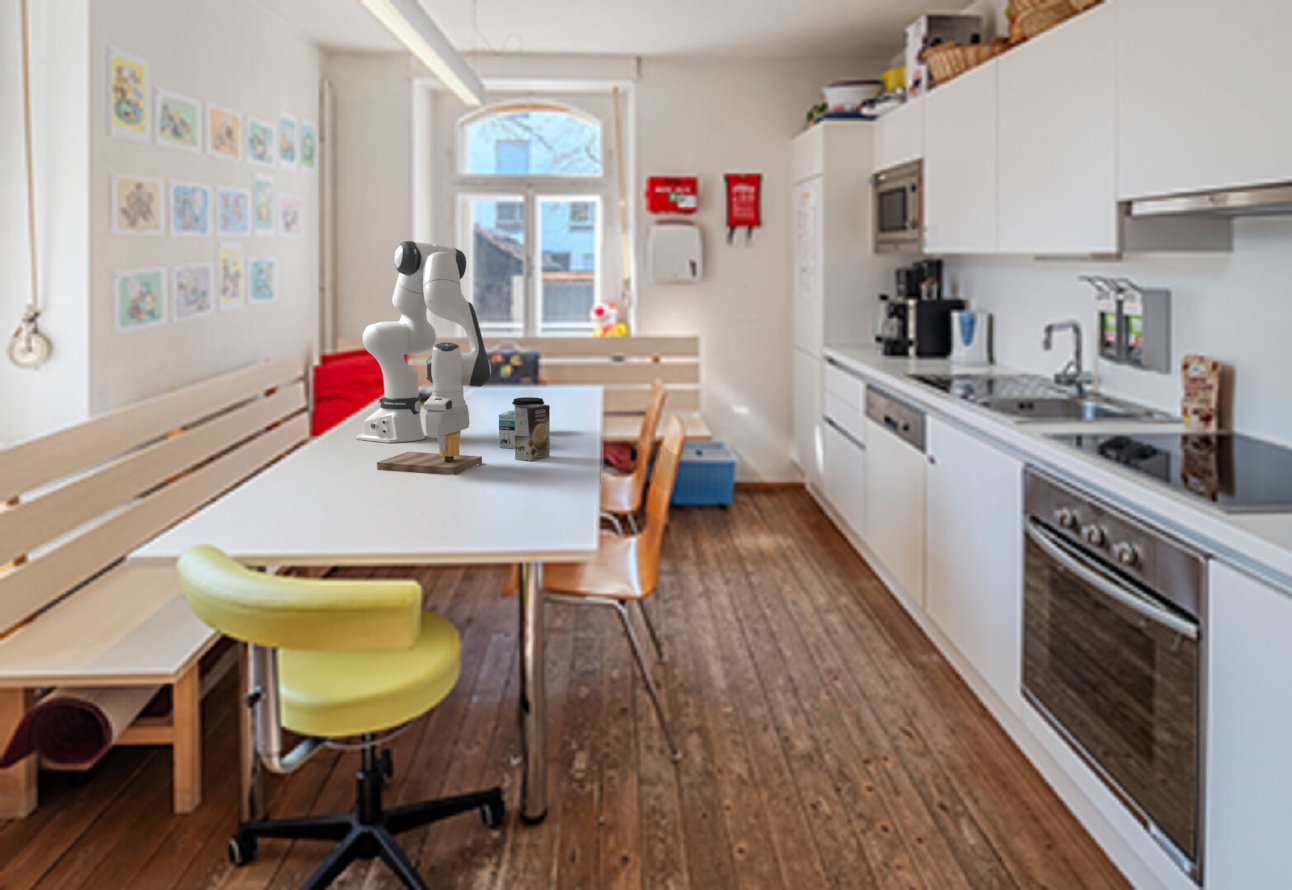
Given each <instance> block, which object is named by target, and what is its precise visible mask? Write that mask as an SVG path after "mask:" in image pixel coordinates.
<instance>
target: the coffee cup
mask: <svg viewBox="0 0 1292 890" xmlns="http://www.w3.org/2000/svg"><path fill="white" fill-rule="evenodd" d="M511 404H512V405H513V406H514V407H515V406H522V405H530V404H542V405H545V401H544V399H543V398H541V397H532V396H531V397H530V396H529V397H517V398H514V399H513V401H512V403H511Z"/></svg>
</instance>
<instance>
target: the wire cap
mask: <svg viewBox="0 0 1292 890" xmlns="http://www.w3.org/2000/svg"><path fill="white" fill-rule="evenodd" d="M445 442H446V444H447V450H446V451H440V450H438V451H439V453H438V454H439V455H440V456H458V455H461V454H460V438H459V433H451V434H448V435H446V439H445Z"/></svg>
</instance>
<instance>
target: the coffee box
mask: <svg viewBox="0 0 1292 890" xmlns="http://www.w3.org/2000/svg"><path fill="white" fill-rule="evenodd" d="M550 408H551V407H550V405H549V404H543V405H542V404H530V405H522V406H514V411H515V449H514V459H515V460H518V459H522V460H521V461H525V460H528V461H527V462H533V461H532V460H534V461H537V460H536V459H539V460H542V459H543V458H544V459H547V457H548V458H550V455H551V454H550V453H551V451H550V450H551V448H550V444H551V443H550V440H551V439H550V437H551V435H550V433H551V432H550V430H551V429H550V428H551V427H550V419H551V418H550V415H551V414H550V413H551V412H550V411H551V410H550Z"/></svg>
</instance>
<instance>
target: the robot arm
mask: <svg viewBox="0 0 1292 890" xmlns="http://www.w3.org/2000/svg"><path fill="white" fill-rule="evenodd" d="M394 267H395V269H396V270H397V272H398V277H397V280H396V283H395V286H394V291H393V295H392V299H391V300H392V301H391V303H392V305H393V307H394V309H395V310H396V312H398V313H400V314H401V316H400V318H399V320H395V321H394V320H393V321H379V322H375V323H373V324H369V325H367V326H366V327H365V329H364V331H363V333H362V344H363V346H364V349H365V350H366V351H367V352H368V353H369V354H371V355H372V357H374V358H375V360H376V361H377V362H378V364H379V366H380V369H381V372H382V378H383V390H384V393H383V394H384V396H383V397H381V398H380V399H377V404H380V406H379V408H378V409H376V410H375V411H374V412H373V413H372V414H370V415H369V416H368V417H366V419H365V421H364V422H363V427H362V433H359V434H357V435H356V436H355V437H356V438H355V439H356V440H360V441H369V442H378V443H379V442H380V443H387V444H390V443H391V444H392V443H400V442H401V443H402V442H414V441H421V440H424V439H425V438H426V436H425V433H426V435H427V437H428V438H430V439H431V438H433V439H436V441H437V442H438V447H439V448H438V449H439V450H440V451H446V450H447V444H446V442H445V439H446V435H448V434H451V433H459V439H460V437H461V434H462V433H461V431H462V430H466V429H468V428H469V426H470V413H469V412H470V411H469V407H468V404H467V403H466V400H465V398H464V397H465V396H464V395H465V393H464V386H465V387H466V386H470V387H477V388H478V387H483V386H484V385H485V384H486V383H488V382H489V381H490V379H491V375H492V365H491V362H490V359H489V357H488V354H487V352H486V351H487V350H486V349H485V344H484V340H483V336H482V331H481V328H480V324H479V320H478V317H477V313H476V310H475V308H474V305H473V304H472V303H471V302H469V301H467V299H466V298H465V296H464V295H463V293H462V292H463V291H462V288H461V287H462V285H461V279H463V277H464V276H465V273H466V270H467V269H466V268H467V258H466V255H465V253H464V252H463V251H462V250H460V249H457V248H455V247H448V246H446V245H441V244H436V243H429V242H416V241H413V240H407V241H405V240H404V241H401V242H400V243H399V244H398V245H397V248H396V250H395V253H394ZM427 311H430V312H431V313H432V314H433V315H434V316H435V315H436V316H437V317H438V318H440V319H443V320H444V319H445V320H447V321H451V322H453V323H455V324H458V325H459V326H461V327H462V328H463V329H464V331H465V333H466V337H467V342H468V345H469V349H470V351H469V352H462V351H461V347H460V345H459V344H457V343H453V342H440V343H436V339H437V334H436V331H435V329H434V327H433V326H432V324H431V323H430V322H429V321H428V316H427ZM435 343H436V344H435ZM430 350H432V352H431V353H432V354H431V355H430V356H429V357H428V358H427V359H426V360H425V364H426V380H427V381H429V382H430V383H431V385H432V388H431V395H430V396H429V398H428V399H427V400H426V401H424V404H423V410H424V411H426V412H425V416H424V418H425V419H424V420H425V422H424V424H425V433H424V430H423V426H422V421H421V420H422V419H421V418H422V417H421V396H420V394H419V387H420V386H419V374H418V372H417V370H416V369H414V368H413V367H411V366H409V365H408V364H407V362H406V360H405V355H414V354H415V355H416V354H421V353H424V352H427V351H430ZM439 450H438V451H439Z"/></svg>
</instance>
